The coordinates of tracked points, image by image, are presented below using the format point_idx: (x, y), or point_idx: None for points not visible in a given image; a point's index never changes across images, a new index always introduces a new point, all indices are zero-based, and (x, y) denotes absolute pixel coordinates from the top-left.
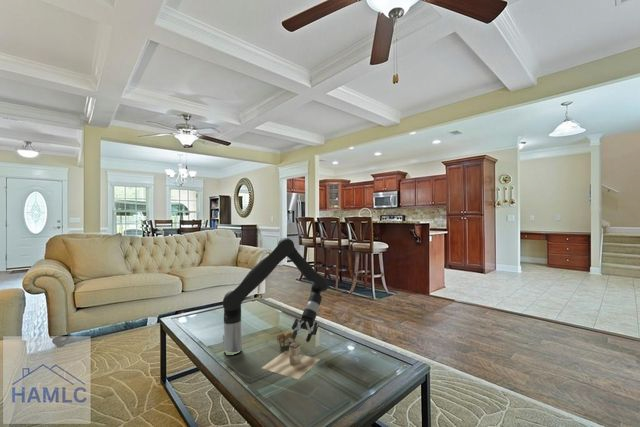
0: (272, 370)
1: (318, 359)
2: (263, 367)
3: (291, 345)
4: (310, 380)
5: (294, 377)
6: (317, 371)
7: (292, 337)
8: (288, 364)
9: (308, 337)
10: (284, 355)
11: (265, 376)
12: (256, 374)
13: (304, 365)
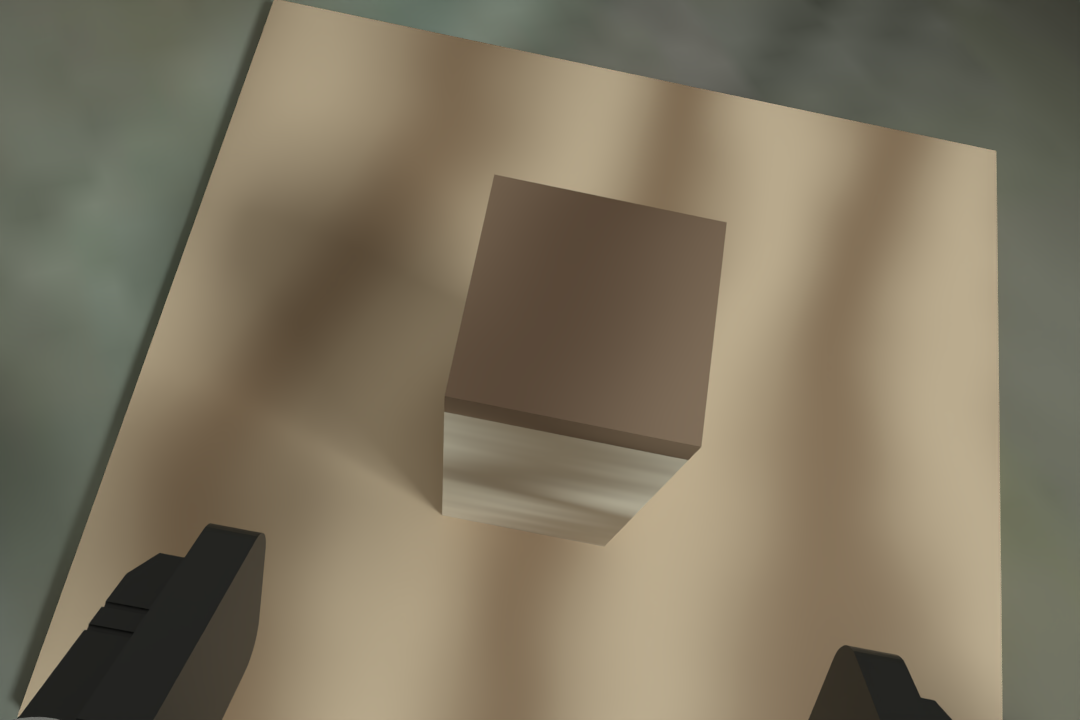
0: (786, 129)
1: None
2: (975, 174)
3: (655, 228)
4: (88, 47)
5: (355, 30)
6: (15, 297)
7: (883, 654)
8: None
9: (151, 629)
10: None
11: (801, 18)
12: (952, 37)
13: (309, 387)
